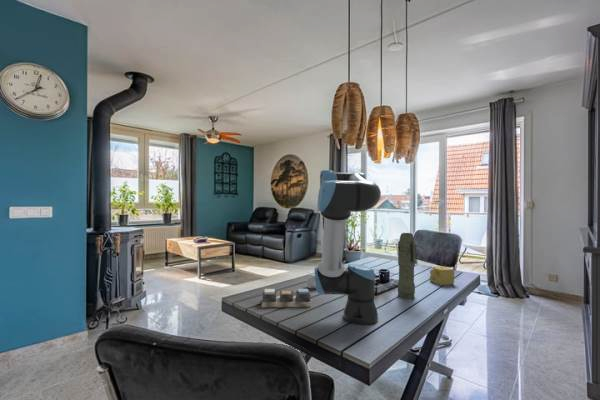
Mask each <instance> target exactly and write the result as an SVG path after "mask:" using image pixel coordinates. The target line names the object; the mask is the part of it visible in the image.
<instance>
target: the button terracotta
mask: <svg viewBox="0 0 600 400" xmlns="http://www.w3.org/2000/svg"><path fill="white" fill-rule="evenodd" d="M281 291H282V294H292V293H291V291H287V290H281Z"/></svg>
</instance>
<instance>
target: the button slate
mask: <svg viewBox="0 0 600 400" xmlns="http://www.w3.org/2000/svg"><path fill="white" fill-rule="evenodd" d="M297 290H298V294H309V292H310V291H309V292H308V290H309V288H297Z"/></svg>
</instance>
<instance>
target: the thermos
mask: <svg viewBox="0 0 600 400" xmlns="http://www.w3.org/2000/svg"><path fill="white" fill-rule="evenodd" d="M416 259H417V244H416V243H415V238H414V234H413V233H411V232H402V233H401V234H400V236H399V240H398V242H397V260H398V261H397V265H398V282H397V296H398V297H399V298H400V299H404V300H414V299H415V298H416V297H415V294H416V284H415V266H416V261H417V260H416Z"/></svg>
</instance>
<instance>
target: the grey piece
mask: <svg viewBox="0 0 600 400" xmlns="http://www.w3.org/2000/svg"><path fill="white" fill-rule="evenodd" d="M264 291H265V290H263V291H262V292H263V293H262V300H261V307H262V308H312V302H311V292H310V290H309V289H308V292H309V294H298V289H297V290H296V291H295V293H296V295H294V290H288V289H287V290H286V291H291V293H292V294H282V291H283V290H279V295H277V290H275V294H264Z"/></svg>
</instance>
